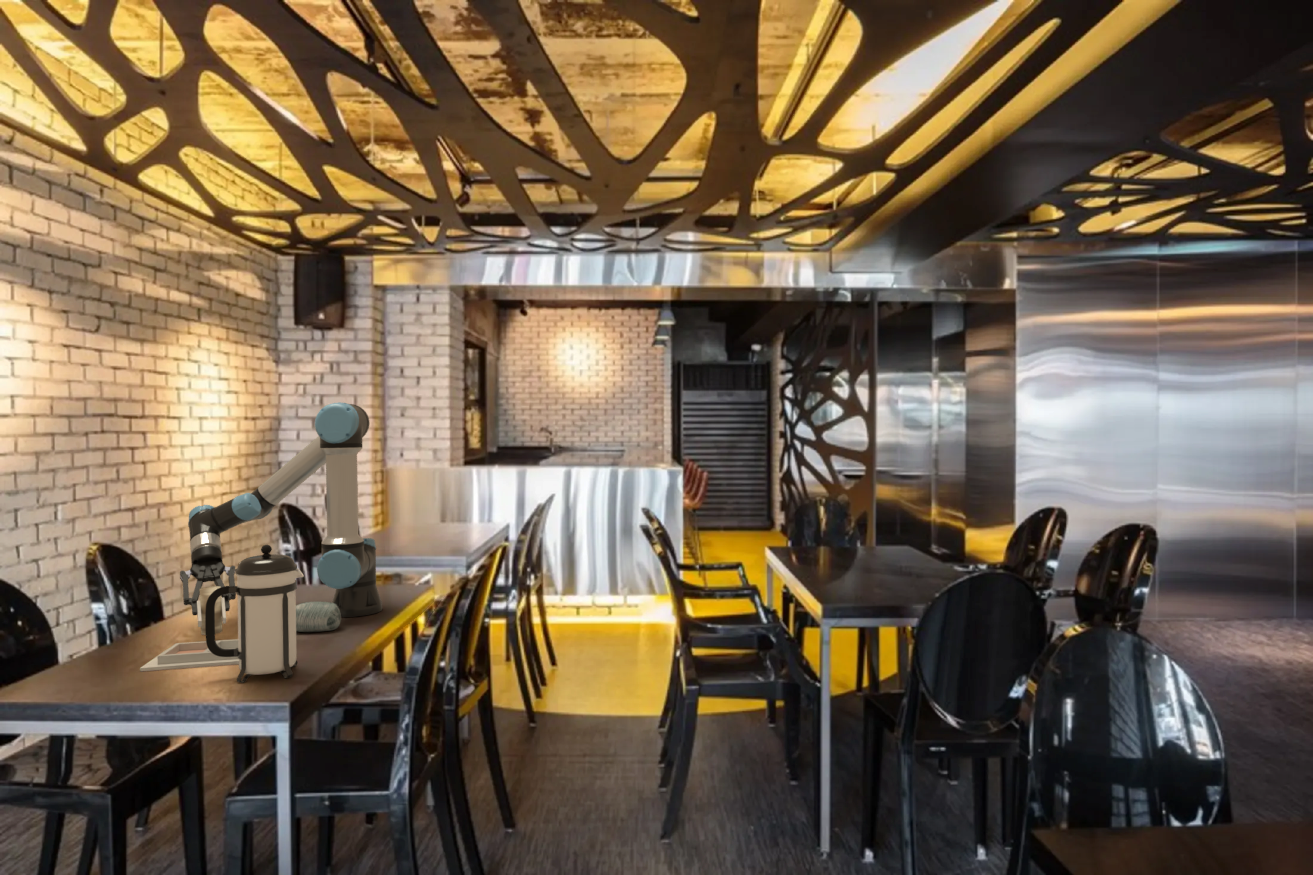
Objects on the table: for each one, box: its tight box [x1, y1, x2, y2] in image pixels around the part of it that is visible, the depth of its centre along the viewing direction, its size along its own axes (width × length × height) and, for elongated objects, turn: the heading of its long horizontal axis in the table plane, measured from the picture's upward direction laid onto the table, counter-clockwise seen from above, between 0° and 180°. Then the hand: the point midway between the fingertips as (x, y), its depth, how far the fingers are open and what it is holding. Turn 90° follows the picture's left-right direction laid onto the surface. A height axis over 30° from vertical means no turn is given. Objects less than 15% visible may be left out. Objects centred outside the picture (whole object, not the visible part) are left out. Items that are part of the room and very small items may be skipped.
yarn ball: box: [296, 600, 342, 633], centre depth 221 cm, size 14×10×10 cm
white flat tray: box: [139, 638, 239, 672], centre depth 195 cm, size 26×16×3 cm, turn 103°
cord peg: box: [199, 585, 223, 636], centre depth 210 cm, size 5×5×12 cm
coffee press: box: [205, 544, 304, 684], centre depth 180 cm, size 17×16×30 cm
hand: (212, 622), depth 207 cm, fingers closed on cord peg, 5 cm apart
